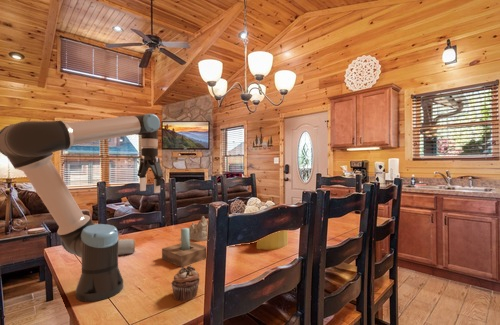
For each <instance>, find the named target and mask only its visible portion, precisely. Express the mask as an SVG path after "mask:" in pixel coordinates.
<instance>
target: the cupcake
mask: <svg viewBox="0 0 500 325" xmlns="http://www.w3.org/2000/svg"><path fill="white" fill-rule="evenodd" d="M170 285H171V288H172V289H171V290H172V294H173V298H174V299H175V300H176V301H179V302H188V301H189V300H192V299H195V298H196V296H197V295H198V290H199V285H200V274H199V273H198V272H197V271H196V268H194V267H193V266H192V264H189V265H187V267H185V266H184V267H180V269H179V270H178V271H177V273H176V274H175V275H173V280H172V282H171V283H170Z"/></svg>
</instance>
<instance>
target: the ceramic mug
mask: <svg viewBox="0 0 500 325" xmlns="http://www.w3.org/2000/svg"><path fill="white" fill-rule="evenodd" d="M135 252H136V239H134V238H126V239H125V238H123V239H121V238H120V239H119V238H118V256H121V255H130V254H134V253H135Z"/></svg>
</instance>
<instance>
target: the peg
mask: <svg viewBox="0 0 500 325" xmlns="http://www.w3.org/2000/svg"><path fill="white" fill-rule="evenodd" d="M189 241H190V239H189V227H182V228H180V243H181V250H183V251H185V250H189V249H190V244H189Z"/></svg>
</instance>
